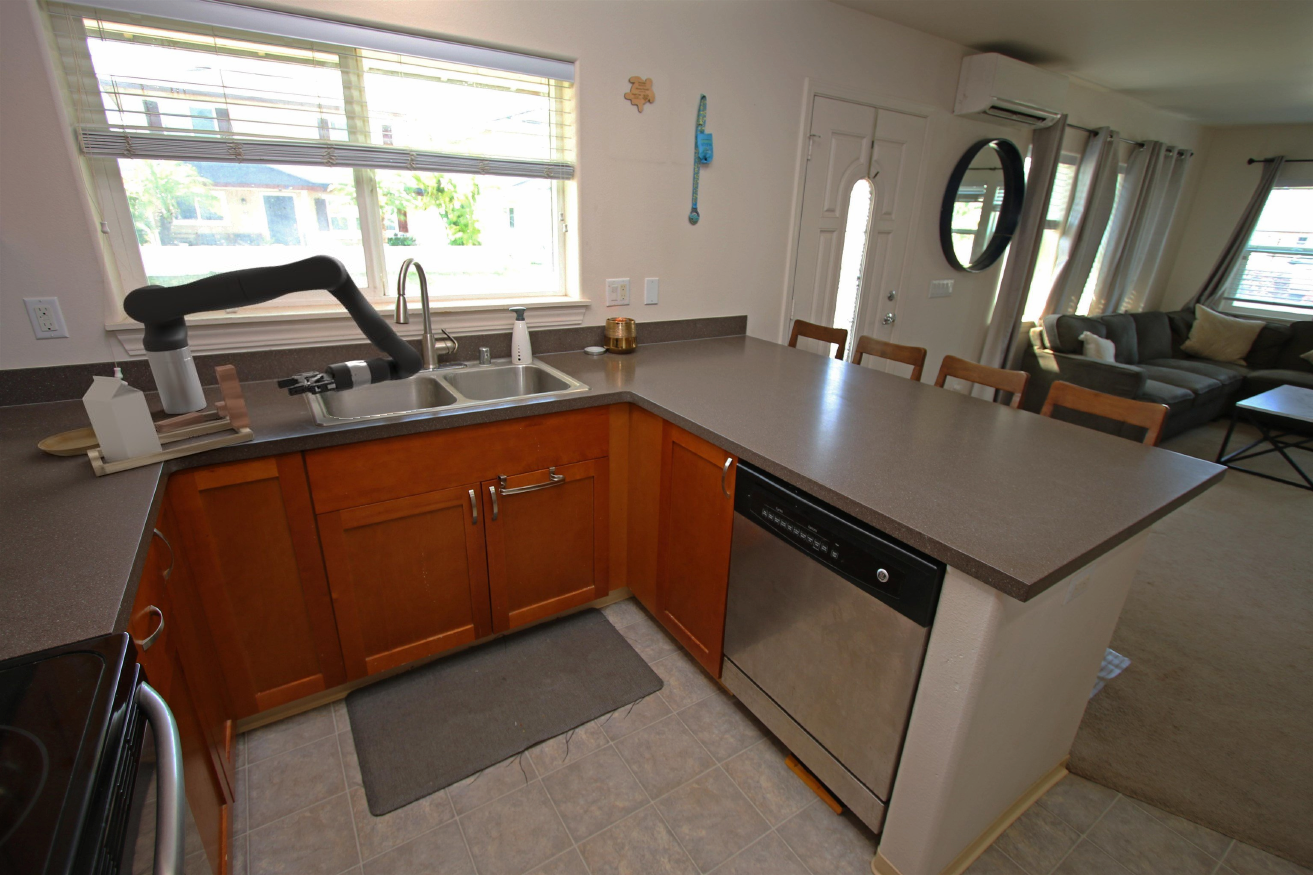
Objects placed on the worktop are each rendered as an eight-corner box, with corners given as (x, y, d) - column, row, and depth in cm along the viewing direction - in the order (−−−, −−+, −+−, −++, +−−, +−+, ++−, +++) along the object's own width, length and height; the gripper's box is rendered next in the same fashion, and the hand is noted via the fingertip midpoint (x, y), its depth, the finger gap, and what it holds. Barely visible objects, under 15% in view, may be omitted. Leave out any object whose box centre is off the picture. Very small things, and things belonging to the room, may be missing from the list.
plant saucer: (119, 431, 147) (115, 421, 146) (133, 446, 138) (130, 435, 137) (37, 448, 136) (33, 438, 135) (47, 466, 128) (43, 455, 127)
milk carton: (132, 466, 127) (102, 383, 120) (106, 463, 129) (74, 380, 122) (164, 453, 134) (136, 373, 127) (138, 450, 135) (110, 371, 128)
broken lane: (132, 434, 144) (125, 416, 142) (231, 414, 158) (226, 397, 156) (139, 445, 138) (132, 426, 136) (241, 423, 152) (236, 406, 150)
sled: (89, 457, 131) (61, 385, 124) (243, 424, 151) (225, 360, 144) (96, 476, 122) (66, 400, 116) (258, 438, 142) (240, 371, 136)
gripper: (336, 357, 163) (270, 368, 152) (356, 367, 154) (288, 379, 143) (341, 383, 166) (277, 396, 155) (361, 394, 157) (295, 408, 146)
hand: (282, 388), depth 149 cm, fingers open, 8 cm apart
